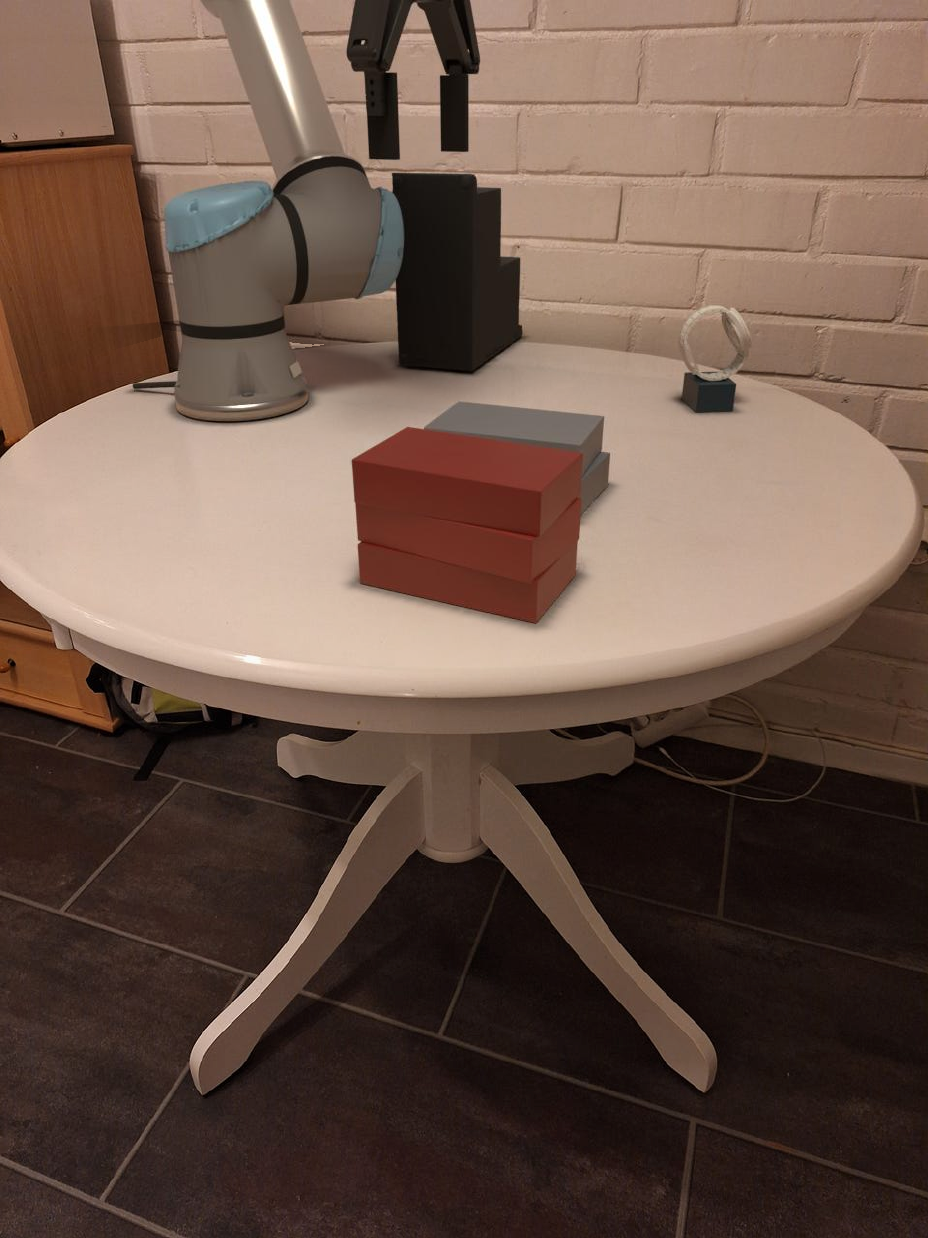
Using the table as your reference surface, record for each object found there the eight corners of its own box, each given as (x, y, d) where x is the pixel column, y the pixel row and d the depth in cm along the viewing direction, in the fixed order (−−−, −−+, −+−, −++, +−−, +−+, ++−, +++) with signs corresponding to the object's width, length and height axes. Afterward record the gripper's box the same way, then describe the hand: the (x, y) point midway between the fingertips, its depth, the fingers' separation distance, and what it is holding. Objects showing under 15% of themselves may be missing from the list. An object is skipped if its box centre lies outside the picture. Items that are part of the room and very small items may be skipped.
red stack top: (357, 540, 66) (354, 499, 64) (416, 503, 72) (415, 465, 70) (530, 584, 60) (532, 539, 58) (579, 539, 66) (582, 498, 64)
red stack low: (359, 583, 67) (357, 543, 65) (411, 541, 73) (410, 505, 72) (536, 623, 62) (537, 581, 60) (576, 575, 68) (578, 536, 66)
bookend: (457, 331, 140) (455, 161, 129) (524, 336, 137) (528, 162, 126) (396, 368, 121) (388, 172, 110) (473, 374, 118) (473, 174, 107)
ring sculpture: (749, 410, 104) (764, 310, 98) (680, 412, 103) (691, 312, 98) (732, 397, 108) (746, 301, 103) (666, 398, 108) (676, 302, 103)
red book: (354, 502, 64) (350, 459, 62) (408, 466, 70) (407, 426, 68) (539, 537, 58) (541, 491, 57) (580, 495, 65) (583, 452, 63)
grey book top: (424, 462, 80) (423, 427, 79) (458, 433, 87) (458, 401, 85) (578, 481, 76) (580, 444, 74) (602, 450, 83) (604, 415, 81)
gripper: (374, -178, 63) (388, 164, 74) (517, -114, 82) (512, 149, 93) (286, -166, 66) (311, 161, 76) (444, -107, 85) (447, 147, 96)
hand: (421, 155), depth 85 cm, fingers open, 13 cm apart
